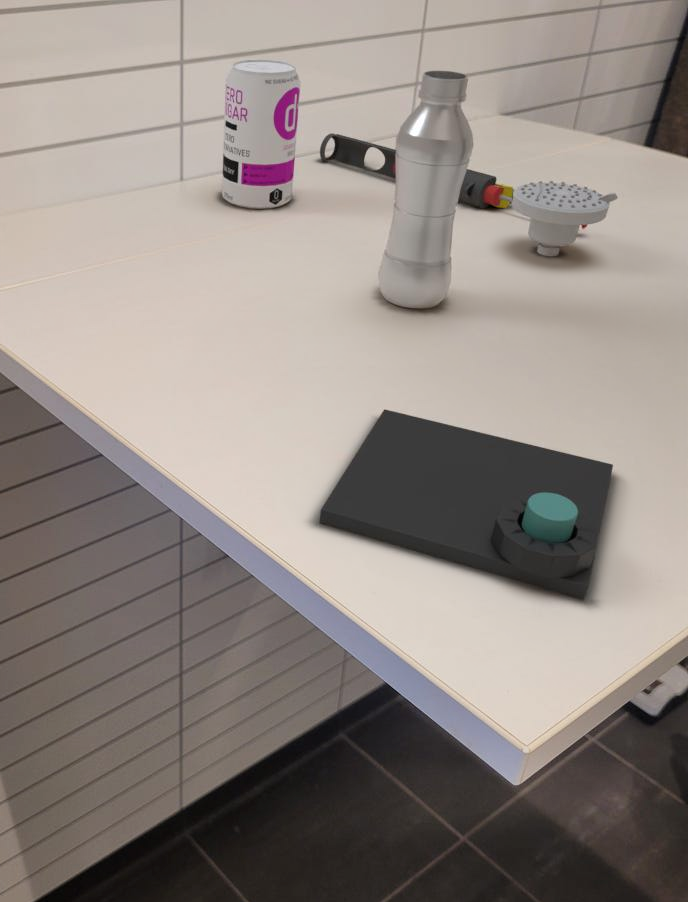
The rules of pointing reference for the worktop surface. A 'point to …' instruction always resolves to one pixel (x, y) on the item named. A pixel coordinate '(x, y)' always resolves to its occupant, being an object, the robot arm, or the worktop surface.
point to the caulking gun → (352, 151)
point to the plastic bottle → (427, 193)
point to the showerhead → (558, 212)
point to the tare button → (549, 517)
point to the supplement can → (260, 133)
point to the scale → (470, 500)
